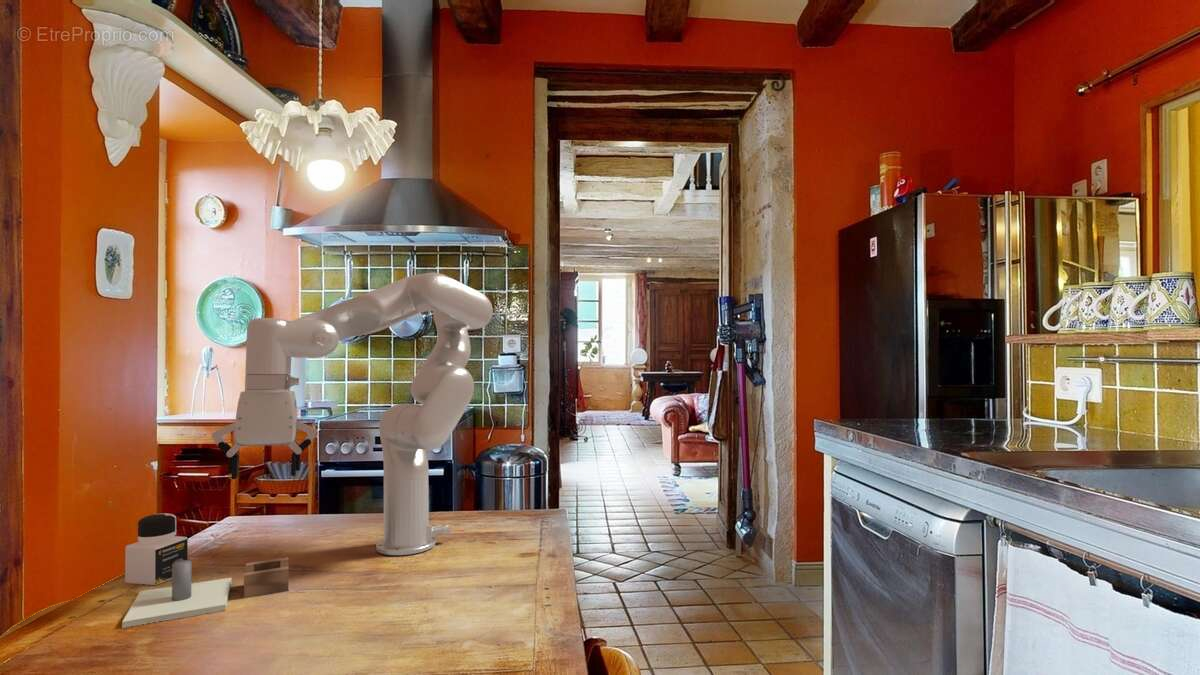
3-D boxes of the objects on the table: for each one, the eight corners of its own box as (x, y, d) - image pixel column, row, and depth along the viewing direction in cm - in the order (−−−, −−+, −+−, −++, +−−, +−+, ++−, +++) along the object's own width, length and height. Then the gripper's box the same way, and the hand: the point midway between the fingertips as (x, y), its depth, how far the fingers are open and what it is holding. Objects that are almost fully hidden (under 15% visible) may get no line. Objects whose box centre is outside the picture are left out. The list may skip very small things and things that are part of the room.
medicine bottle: (155, 586, 115) (156, 521, 115) (124, 583, 117) (124, 519, 117) (188, 572, 122) (188, 511, 122) (158, 570, 124) (158, 510, 124)
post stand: (231, 582, 116) (231, 545, 117) (225, 610, 104) (225, 568, 104) (140, 597, 110) (140, 557, 110) (122, 628, 98) (122, 583, 98)
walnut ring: (288, 578, 119) (288, 557, 119) (288, 590, 112) (288, 568, 112) (246, 584, 115) (246, 563, 115) (244, 598, 109) (244, 575, 109)
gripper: (319, 383, 122) (316, 470, 122) (217, 383, 116) (214, 475, 115) (318, 384, 116) (315, 477, 115) (210, 385, 109) (206, 483, 108)
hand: (264, 476), depth 115 cm, fingers open, 9 cm apart
